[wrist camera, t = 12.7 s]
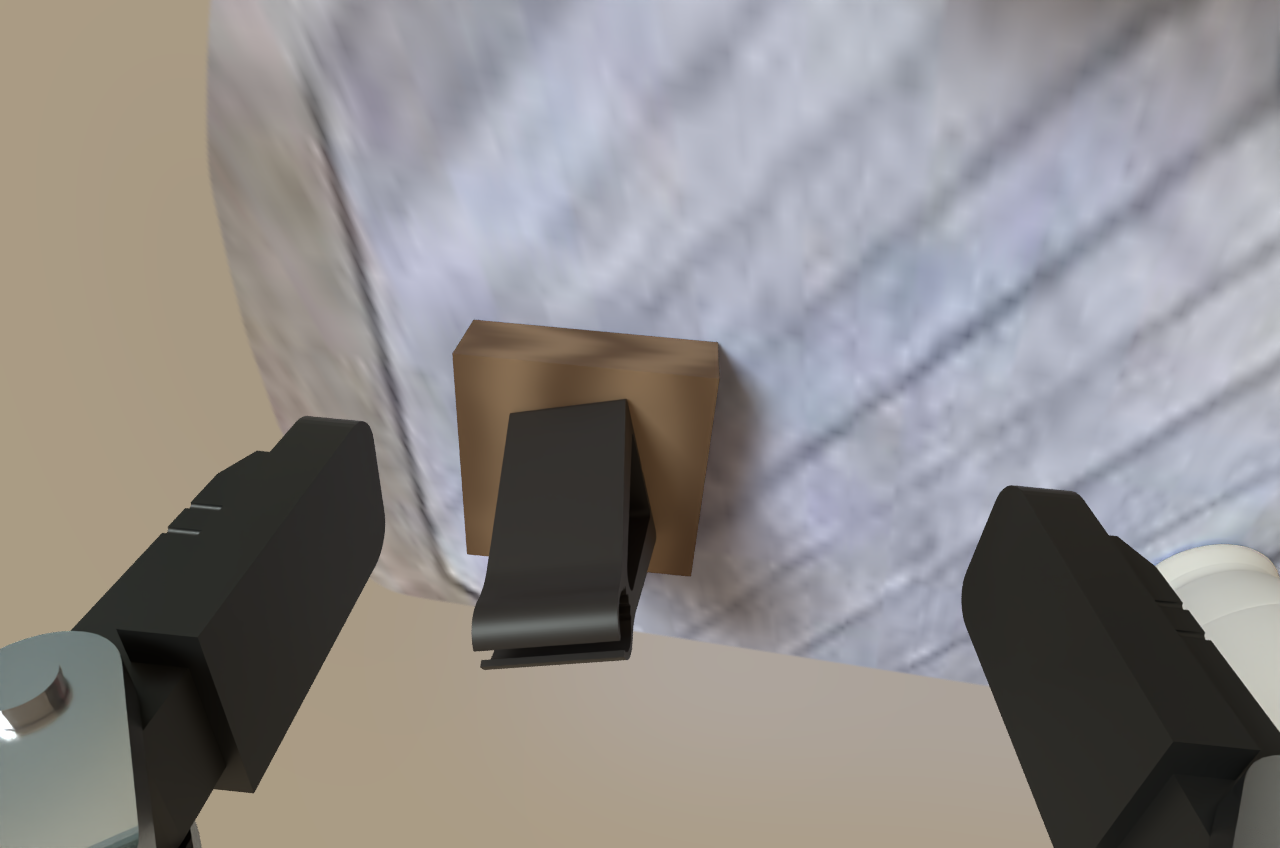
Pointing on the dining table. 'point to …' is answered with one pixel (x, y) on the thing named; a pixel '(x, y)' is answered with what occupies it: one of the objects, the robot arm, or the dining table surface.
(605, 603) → the phone stand
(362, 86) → the dining table surface
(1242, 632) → the jar
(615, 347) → the walnut plinth
